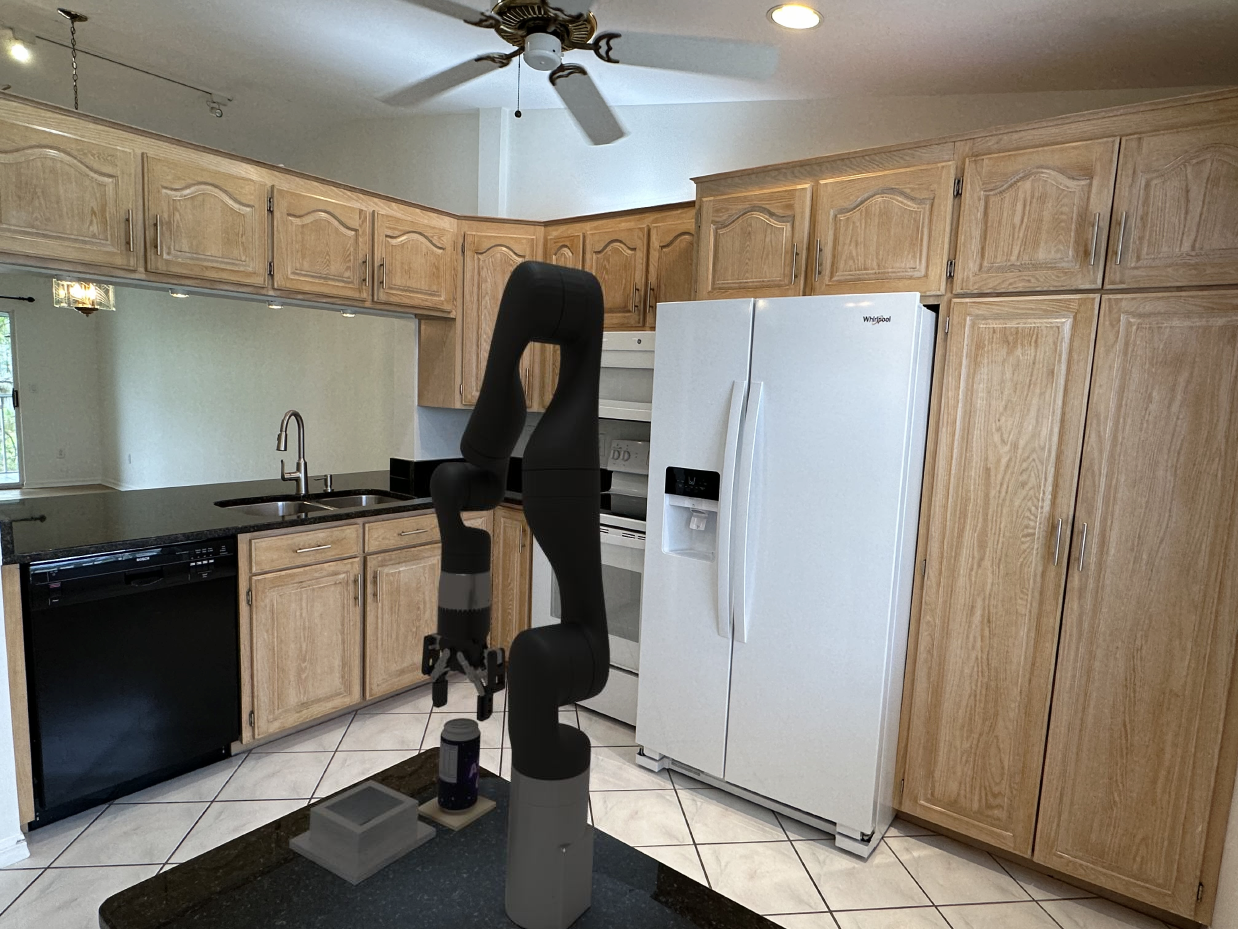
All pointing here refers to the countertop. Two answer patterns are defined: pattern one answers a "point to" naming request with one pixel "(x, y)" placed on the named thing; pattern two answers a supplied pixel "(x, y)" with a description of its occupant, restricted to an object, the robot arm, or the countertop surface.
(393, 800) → the sleeve
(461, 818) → the birch pad
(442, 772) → the beverage can
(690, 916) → the countertop surface
